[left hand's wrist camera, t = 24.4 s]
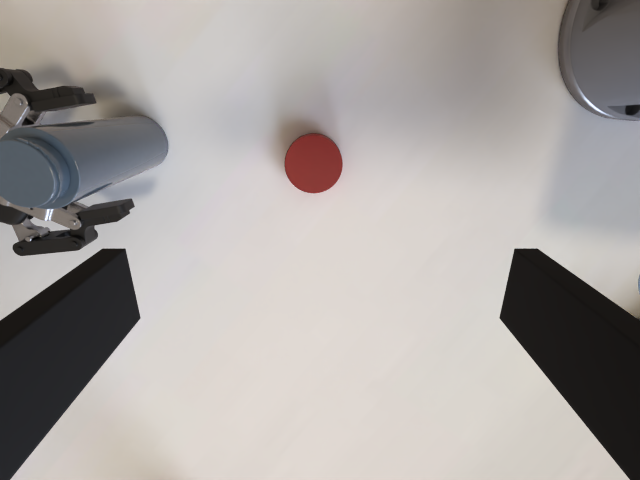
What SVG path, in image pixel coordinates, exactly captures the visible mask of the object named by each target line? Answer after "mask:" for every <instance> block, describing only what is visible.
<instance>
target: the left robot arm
mask: <svg viewBox="0 0 640 480" xmlns="http://www.w3.org/2000/svg"><path fill="white" fill-rule="evenodd" d="M559 63H560V68H561V73H562V76H563V79H564V81H565V84H566V86H567V88H568V90H569V91H570V93H571V94H572V96H573V97H574V98H575V100H576V101H577V102H578V103H579V104H580V105H582V106H583V107H584V108H585V109H587V110H589V111H590V112H592V113H594V114H596V115H599V116H602V117H605V118H610V119H619V120H633V121H635V120H640V0H570V1H569V3H568V5H567V8H566V11H565V14H564V17H563V21H562V25H561V30H560V37H559ZM638 288H639V294H640V276H639V280H638ZM139 319H140V314H139V309H138V305H137V300H136V295H135V291H134V286H133V282H132V277H131V272H130V268H129V263H128V259H127V254H126V249H102V250H100V251H99V252H97V253H96V254H94V255H93V256H92V257H90V258H89V259H87V260H86V261H84V262H83V263H82V264H80V265H79V266H77V267H76V268H75V269H73V270H72V271H70V272H69V273H67V274H66V275H65V276H63V277H62V278H60V279H59V280H57V281H56V282H55V283H53V284H52V285H50V286H49V287H48V288H46V289H45V290H43V291H42V292H40V293H39V294H38V295H36V296H35V297H33V298H32V299H30V300H29V301H28V302H26V303H25V304H23V305H22V306H21V307H19V308H18V309H16V310H15V311H13V312H12V313H11V314H9V315H8V316H6V317H5V318H3V319H2V320H1V321H0V480H10V479H11V478H12V477H13V475H14V474H15V473H16V472H17V470H18V469H19V468H20V467H21V465H22V464H23V463H24V462H25V460H26V459H27V458H28V457H29V455H30V454H31V453H32V452H33V451H34V449H35V448H36V447H37V446H38V444H39V443H40V442H41V441H42V439H43V438H44V437H45V436H46V434H47V433H48V432H49V431H50V429H51V428H52V427H53V426H54V425H55V423H56V422H57V421H58V420H59V418H60V417H61V416H62V415H63V413H64V412H65V411H66V410H67V408H68V407H69V406H70V405H71V403H72V402H73V401H74V400H75V399H76V397H77V396H78V395H79V394H80V392H81V391H82V390H83V389H84V387H85V386H86V385H87V384H88V382H89V381H90V380H91V379H92V377H93V376H94V375H95V374H96V373H97V371H98V370H99V369H100V368H101V366H102V365H103V364H104V363H105V361H106V360H107V359H108V358H109V356H110V355H111V354H112V353H113V351H114V350H115V349H116V348H117V347H118V345H119V344H120V343H121V342H122V340H123V339H124V338H125V337H126V335H127V334H128V333H129V332H130V330H131V329H132V328H133V327H134V325H135V324H136V323H137V322H138V321H139ZM500 319H501V321H502V322H503V323H504V324H505V325H506V327H507V328H508V329H509V330H510V332H511V333H512V334H513V335H514V337H515V338H516V339H517V340H518V342H519V343H520V344H521V345H522V347H523V348H524V349H525V350H526V351H527V353H528V354H529V355H530V356H531V358H532V359H533V360H534V361H535V363H536V364H537V365H538V366H539V368H540V369H541V370H542V371H543V373H544V374H545V375H546V376H547V377H548V379H549V380H550V381H551V382H552V384H553V385H554V386H555V387H556V389H557V390H558V391H559V392H560V394H561V395H562V396H563V397H564V399H565V400H566V401H567V402H568V403H569V405H570V406H571V407H572V408H573V410H574V411H575V412H576V413H577V415H578V416H579V417H580V418H581V420H582V421H583V422H584V423H585V425H586V426H587V427H588V428H589V429H590V431H591V432H592V433H593V434H594V436H595V437H596V438H597V439H598V441H599V442H600V443H601V444H602V446H603V447H604V448H605V449H606V451H607V452H608V453H609V454H610V455H611V457H612V458H613V459H614V460H615V462H616V463H617V464H618V465H619V467H620V468H621V469H622V470H623V472H624V473H625V474H626V475H627V477H628V478H629V479H630V480H640V321H639V320H638V319H637V318H635V317H634V316H632V315H631V314H629V313H628V312H627V311H625V310H624V309H622V308H621V307H619V306H618V305H617V304H615V303H614V302H612V301H611V300H610V299H608V298H607V297H605V296H604V295H602V294H601V293H600V292H598V291H597V290H595V289H594V288H592V287H591V286H590V285H588V284H587V283H585V282H584V281H583V280H581V279H580V278H578V277H577V276H575V275H574V274H573V273H571V272H570V271H568V270H567V269H565V268H564V267H563V266H561V265H560V264H558V263H557V262H556V261H554V260H553V259H551V258H550V257H548V256H547V255H546V254H544V253H543V252H541V251H540V250H538V249H514V254H513V259H512V263H511V268H510V272H509V277H508V282H507V286H506V291H505V295H504V300H503V305H502V309H501V314H500Z"/></svg>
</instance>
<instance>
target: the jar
mask: <svg viewBox="0 0 640 480" xmlns="http://www.w3.org/2000/svg"><path fill="white" fill-rule="evenodd" d="M167 152H168V141H167V138H166V135H165V133H164V131H163V130H162V128H161V127H160V126H159V125H158V124H157V123H156V122H155V121H153V120H152V119H150V118H148V117H145V116H141V115H132V116H123V117H114V118H105V119H95V120H86V121H77V122H67V123H58V124H49V125H39V126H30V127H21V128H16V129H13V130H11V131H9V132H7V133H6V134H5V135H4V136H3V137H2V138H1V139H0V196H1V197H2V198H4V199H5V200H7V201H8V202H10V203H12V204H14V205H17V206H21V207H27V208H34V207H36V208H41V209H58V208H62V207H64V206H66V205H69V204H71V203H73V202H76V201H78V200H80V199H82V198H85V197H87V196H89V195H92V194H94V193H96V192H98V191H101V190H103V189H105V188H108V187H110V186H112V185H114V184H117V183H119V182H121V181H124V180H126V179H128V178H130V177H133V176H135V175H137V174H140V173H142V172H144V171H146V170H149V169H151V168H153V167H156V166H158V165H159V164H160V163H162V162H163V160H164V159H165V157H166V155H167Z"/></svg>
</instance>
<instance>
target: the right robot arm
mask: <svg viewBox="0 0 640 480" xmlns="http://www.w3.org/2000/svg"><path fill="white" fill-rule="evenodd" d="M32 82H33V80H32V76H31V75H30V74H29V73H28V72H27V71H25V70H18V69H17V70H10V69H4V68H0V94H3V93H6V92H7V93H8V94H9V95H10V96H11V97H10V99H9V101H8V102H7V104H6V106H5V108H4V109H3V111H2V113H1V114H0V139H1V138H2V137H3V136H4V135H5V134H6V133H7V132H9V131H11V130H13V129H16V128H21V127H30V126H39V125H41V124H40V121H41V120H42V118H43V116H44V115H45V113H46V112H47V111H57V110H62V109H68V108H73V107H79V106H84V105H90V104H95V103H96V100H95V97H94V95H93V94H85V92H84V90H83V88H81V87H76V86H61V87H56V88H50V89H45V90H38V89H37V88H36V87H35V86H34V85H33V83H32ZM133 207H135V206H134V203H133V201H132V199H125V200H119V201H113V202H107V203H101V204H95V205H92V206H90V207H88V206H86V205H83V204H81V203H79V202H77V201H76V202H73V203H71V204H69V205H66V206H64V207H62V208H58V209H41V208H36V207H34V208H27V207H21V206H17V205H14V204H12V203H10V202H8V201H7V200H5V199H4V198H2V197H1V196H0V222H2V223H6V224H9V225H12V226H13V228H14V230H15V233H16V235H17V237H18V239H19V242H17V243H15V244H14V245H13V250H14V252H15V253H16V254H18V255H20V256H26V255H36V254H46V253H56V252H66V251H76V250H80V249H81V248H83V247H84V246H86V245H88V244H89V243H91V242H92V241H94V240H95V239H97V237H98V233H97V231H96V230H95V229H94V226H95V225H99V224H105V223H110V222H117V221H119V220H120V219H122V218H123V217H125V216H127V215H128V214H130V212H129V210H130V209H132V208H133ZM33 217H36V218H38V219H41V220H51V221H54V222H56V223H59V224H61V225H63V226H66V227H68V228H70V230H61V231H51V232H50V229H49V228H48V227H45V228H44V227H42V226H36V225H34V224H33V223H32V222H31V221H30V219H32V218H33Z"/></svg>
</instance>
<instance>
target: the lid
mask: <svg viewBox="0 0 640 480" xmlns="http://www.w3.org/2000/svg"><path fill="white" fill-rule="evenodd" d="M285 171H286V174H287V176H288V178H289V180H290V181H291V183H292V184H293V185H294V186H295V187H297V188H298V189H300V190H302V191H304V192H308V193H320V192H323V191H326V190H328V189H329V188H331V187H332V186H333V185H334V184H335V183H336V182H337V180H338V179H339V177H340V175H341V171H342V157H341V154H340V151H339V149H338V147H337V146H336V144H335V143H334V142H333V141H332V140H331V139H330V138H328V137H326V136H324V135H321V134H316V133H311V134H306V135H303V136H301V137H299V138H298V139H296V140H295V141H294V142H293V143H292V145H291V146H290V148H289V150H288V152H287V154H286V158H285Z"/></svg>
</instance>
